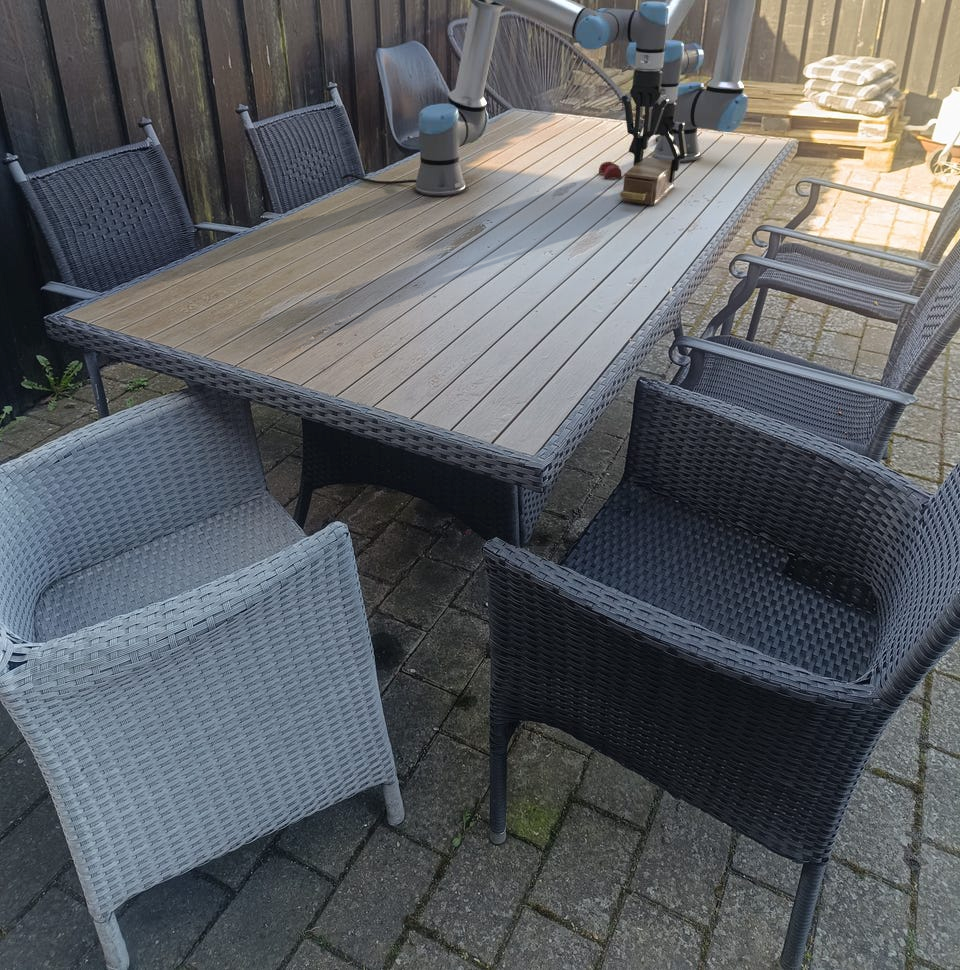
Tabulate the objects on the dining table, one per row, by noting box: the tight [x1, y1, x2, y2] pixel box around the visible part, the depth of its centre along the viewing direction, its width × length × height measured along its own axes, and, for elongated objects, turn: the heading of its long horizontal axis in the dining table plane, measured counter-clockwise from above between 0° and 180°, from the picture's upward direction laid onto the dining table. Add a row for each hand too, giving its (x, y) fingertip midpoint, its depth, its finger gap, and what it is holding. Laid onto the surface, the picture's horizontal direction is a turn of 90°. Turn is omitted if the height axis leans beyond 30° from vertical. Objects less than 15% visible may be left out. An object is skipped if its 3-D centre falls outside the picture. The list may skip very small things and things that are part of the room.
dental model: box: [598, 161, 623, 179], centre depth 269 cm, size 6×4×8 cm
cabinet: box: [621, 156, 675, 206], centre depth 252 cm, size 20×10×8 cm, turn 154°
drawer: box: [619, 177, 654, 204], centre depth 249 cm, size 24×9×6 cm, turn 154°
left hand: (638, 161), depth 237 cm, fingers closed
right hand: (654, 179), depth 257 cm, fingers closed on cabinet, 10 cm apart
